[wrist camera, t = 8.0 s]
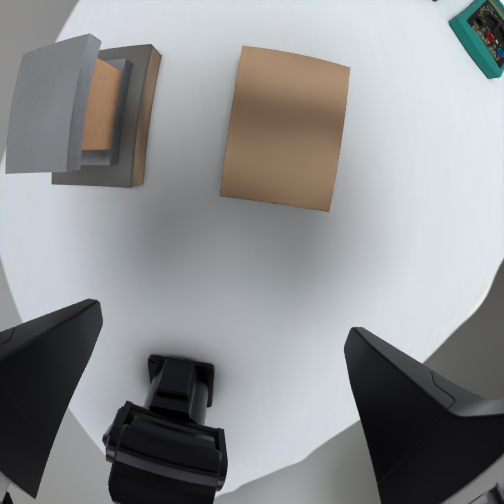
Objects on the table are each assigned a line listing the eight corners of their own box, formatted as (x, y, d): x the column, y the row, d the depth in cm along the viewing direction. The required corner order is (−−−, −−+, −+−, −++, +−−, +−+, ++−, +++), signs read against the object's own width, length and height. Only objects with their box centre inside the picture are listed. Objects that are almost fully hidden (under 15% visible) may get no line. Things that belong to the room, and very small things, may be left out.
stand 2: (319, 205, 20) (328, 212, 17) (222, 191, 19) (219, 196, 17) (338, 76, 16) (350, 67, 14) (242, 58, 16) (242, 45, 13)
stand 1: (142, 183, 19) (129, 187, 16) (69, 180, 18) (51, 184, 16) (161, 55, 15) (151, 44, 13) (84, 64, 15) (68, 56, 12)
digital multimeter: (442, 25, 14) (459, 17, 11) (479, -7, 10) (492, -13, 7) (484, 83, 16) (502, 80, 13) (512, 38, 12) (525, 35, 9)
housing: (118, 164, 16) (66, 172, 10) (61, 163, 15) (5, 173, 10) (133, 63, 13) (89, 33, 8) (74, 72, 13) (23, 54, 7)
